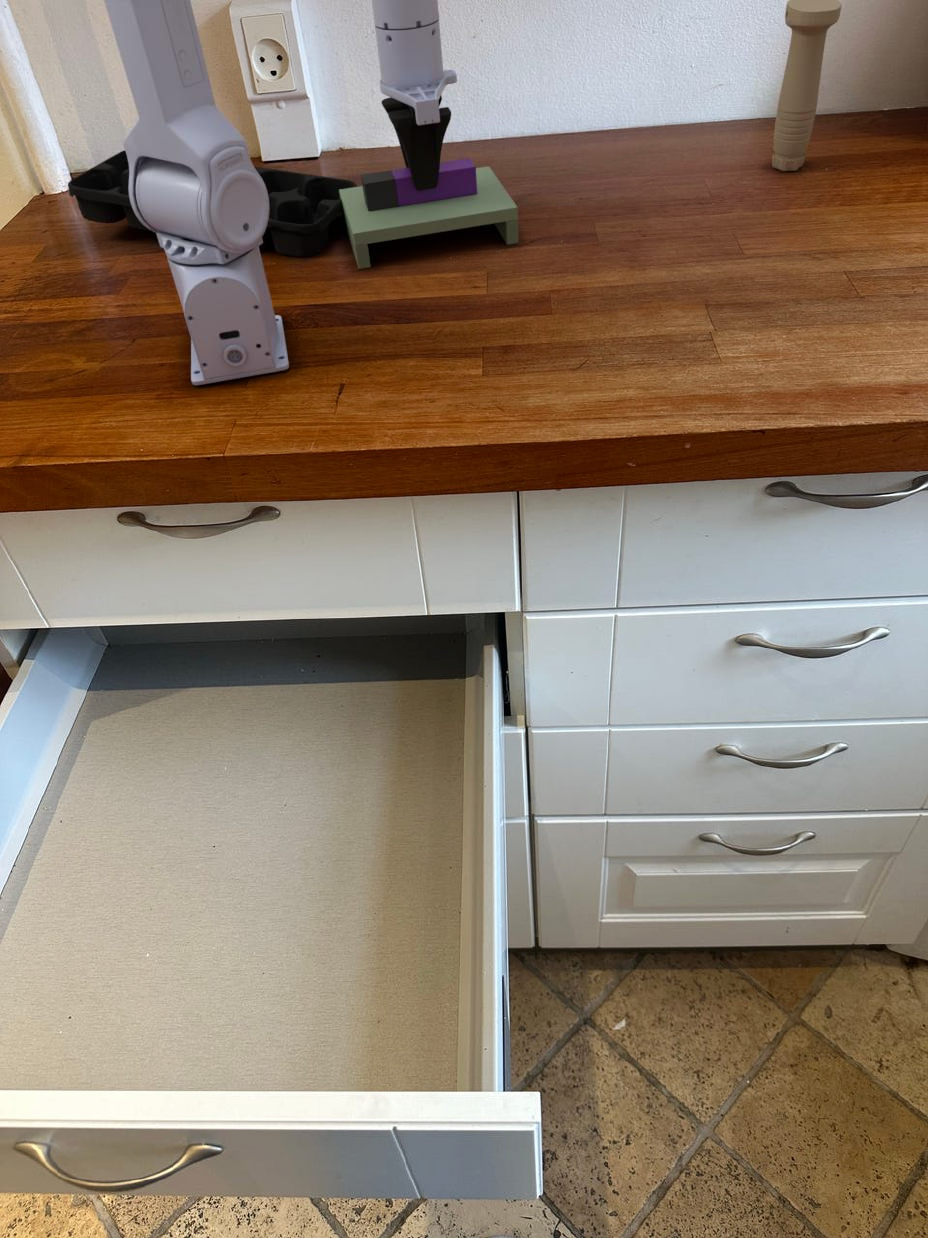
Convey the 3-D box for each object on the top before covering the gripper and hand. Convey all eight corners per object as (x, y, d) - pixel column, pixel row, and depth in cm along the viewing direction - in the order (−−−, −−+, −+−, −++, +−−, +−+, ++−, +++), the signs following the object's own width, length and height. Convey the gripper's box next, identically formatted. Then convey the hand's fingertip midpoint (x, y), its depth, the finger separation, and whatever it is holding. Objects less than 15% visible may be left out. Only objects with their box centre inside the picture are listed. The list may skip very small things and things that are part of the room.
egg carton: (114, 178, 105) (106, 143, 103) (371, 194, 103) (369, 159, 100) (49, 245, 93) (38, 207, 90) (339, 264, 91) (336, 226, 88)
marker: (477, 193, 91) (475, 166, 89) (368, 211, 90) (364, 183, 88) (471, 184, 93) (470, 157, 91) (364, 201, 91) (360, 174, 90)
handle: (804, 155, 101) (832, -6, 90) (816, 176, 96) (847, 9, 86) (759, 157, 101) (782, -3, 91) (769, 179, 97) (794, 13, 86)
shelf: (518, 243, 90) (517, 206, 88) (358, 269, 89) (353, 233, 86) (490, 200, 99) (489, 165, 96) (344, 223, 97) (338, 189, 95)
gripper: (468, 34, 76) (479, 202, 85) (435, -1, 86) (448, 153, 96) (384, 45, 75) (404, 214, 85) (362, 9, 85) (382, 163, 95)
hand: (423, 182), depth 90 cm, fingers closed on marker, 2 cm apart
